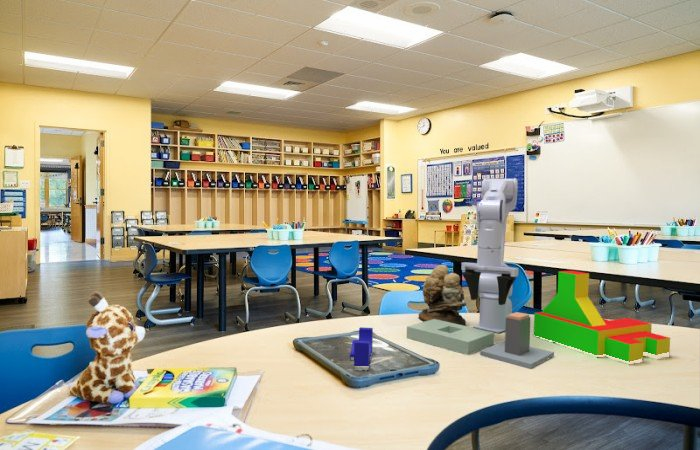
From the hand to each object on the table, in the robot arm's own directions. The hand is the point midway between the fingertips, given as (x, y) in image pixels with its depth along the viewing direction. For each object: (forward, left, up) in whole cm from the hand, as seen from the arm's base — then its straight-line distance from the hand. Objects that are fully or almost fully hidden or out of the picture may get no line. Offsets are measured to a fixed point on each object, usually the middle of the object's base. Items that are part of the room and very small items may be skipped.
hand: (487, 301), depth 118 cm
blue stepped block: (+33, -12, -11) cm, 37 cm away
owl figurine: (-10, -20, -11) cm, 25 cm away
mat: (+4, +10, -10) cm, 15 cm away
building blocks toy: (-20, +20, -11) cm, 30 cm away
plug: (+4, +10, -9) cm, 14 cm away
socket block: (+6, -7, -10) cm, 14 cm away
